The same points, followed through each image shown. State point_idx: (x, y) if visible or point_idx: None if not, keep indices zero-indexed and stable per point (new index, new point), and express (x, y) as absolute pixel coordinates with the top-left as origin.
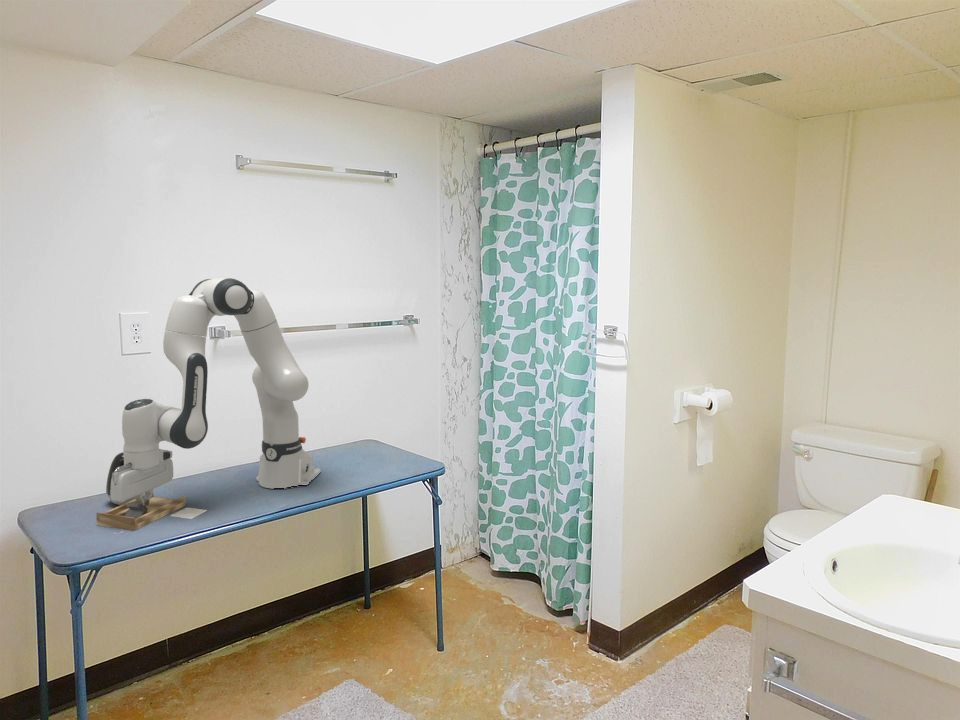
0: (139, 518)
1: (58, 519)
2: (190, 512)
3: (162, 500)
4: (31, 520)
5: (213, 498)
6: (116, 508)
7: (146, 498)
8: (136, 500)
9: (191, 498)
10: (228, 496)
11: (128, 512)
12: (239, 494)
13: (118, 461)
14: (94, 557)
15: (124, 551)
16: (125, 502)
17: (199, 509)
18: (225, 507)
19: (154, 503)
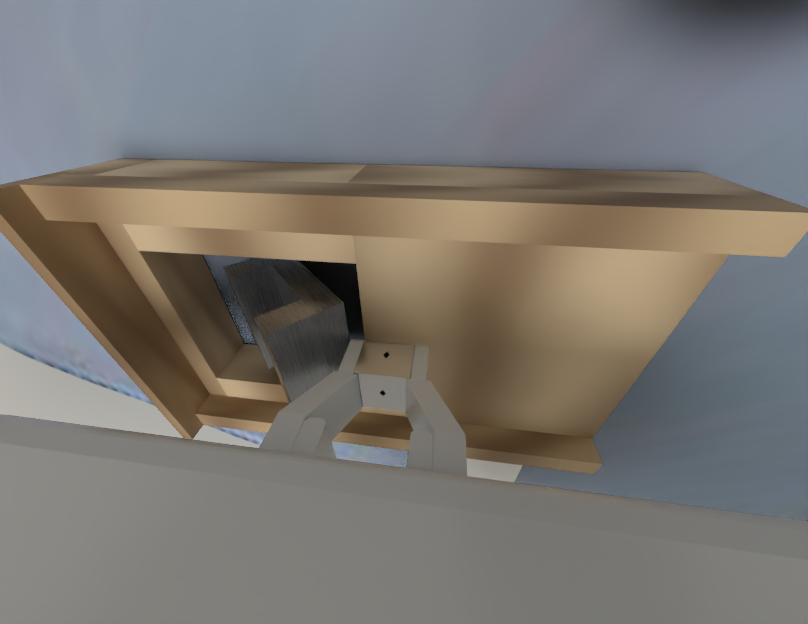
0: (230, 427)
1: None
2: (474, 460)
3: (592, 355)
4: None
5: (747, 442)
6: (216, 220)
7: (408, 405)
8: (320, 382)
9: (794, 364)
10: (765, 475)
11: (290, 296)
12: (786, 494)
13: None
14: (53, 360)
15: (149, 403)
16: None
17: (515, 471)
18: (591, 489)
19: (517, 340)
